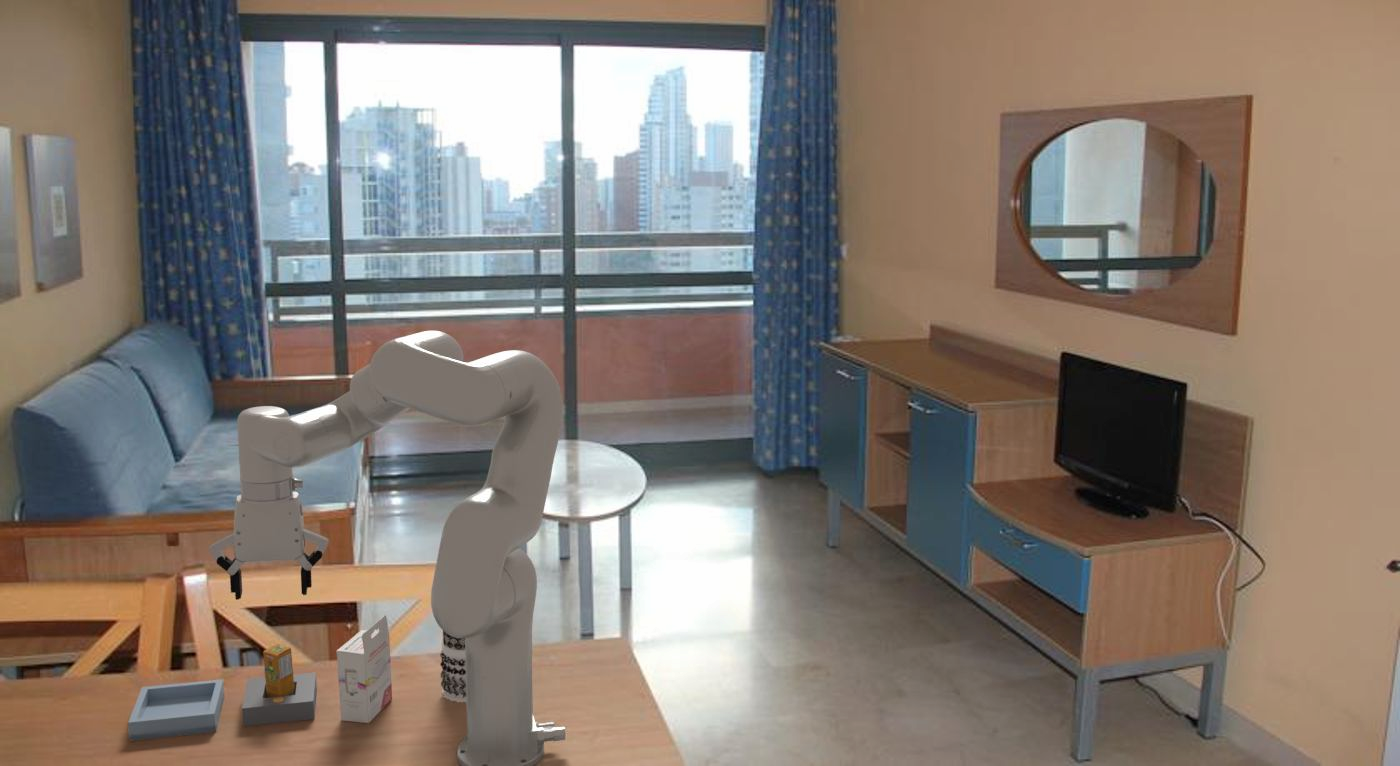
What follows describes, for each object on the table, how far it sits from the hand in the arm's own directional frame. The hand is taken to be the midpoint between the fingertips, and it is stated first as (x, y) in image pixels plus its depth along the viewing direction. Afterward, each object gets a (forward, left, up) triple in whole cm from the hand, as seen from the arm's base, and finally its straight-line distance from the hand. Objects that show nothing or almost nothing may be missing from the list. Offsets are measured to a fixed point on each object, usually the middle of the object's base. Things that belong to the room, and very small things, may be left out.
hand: (272, 594), depth 188 cm
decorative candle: (-29, +1, -19) cm, 35 cm away
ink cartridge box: (-13, +4, -19) cm, 24 cm away
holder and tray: (+7, 0, -19) cm, 20 cm away
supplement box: (0, 0, -19) cm, 19 cm away
